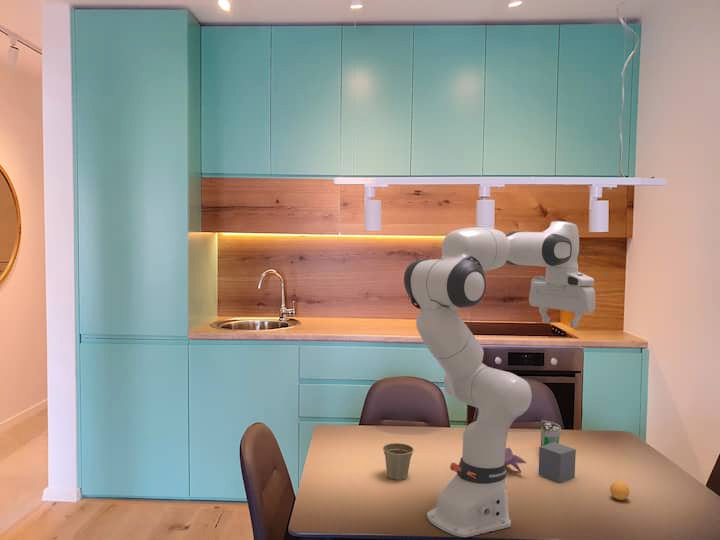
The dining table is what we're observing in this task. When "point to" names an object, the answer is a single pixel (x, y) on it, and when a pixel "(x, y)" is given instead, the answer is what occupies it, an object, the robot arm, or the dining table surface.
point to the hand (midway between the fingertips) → (559, 325)
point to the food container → (550, 432)
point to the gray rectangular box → (557, 462)
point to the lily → (513, 459)
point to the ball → (619, 490)
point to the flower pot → (397, 460)
